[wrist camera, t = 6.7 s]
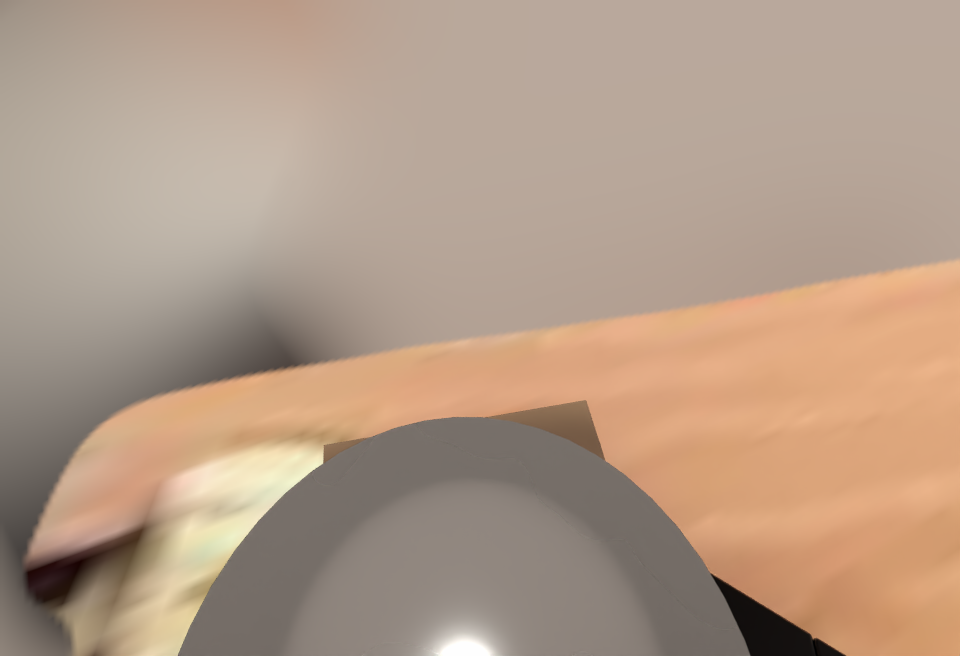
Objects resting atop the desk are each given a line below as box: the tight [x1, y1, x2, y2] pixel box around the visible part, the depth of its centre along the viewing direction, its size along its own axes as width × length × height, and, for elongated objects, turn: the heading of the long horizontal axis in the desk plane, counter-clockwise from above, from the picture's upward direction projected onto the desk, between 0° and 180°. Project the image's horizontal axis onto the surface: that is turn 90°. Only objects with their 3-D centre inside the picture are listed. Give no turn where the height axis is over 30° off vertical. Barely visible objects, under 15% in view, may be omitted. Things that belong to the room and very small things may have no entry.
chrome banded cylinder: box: [178, 417, 750, 656], centre depth 8 cm, size 5×5×11 cm
